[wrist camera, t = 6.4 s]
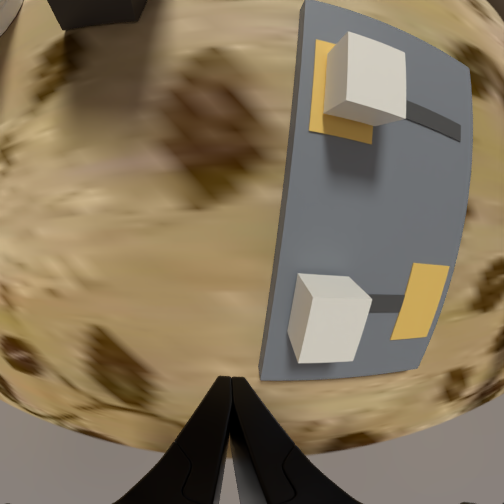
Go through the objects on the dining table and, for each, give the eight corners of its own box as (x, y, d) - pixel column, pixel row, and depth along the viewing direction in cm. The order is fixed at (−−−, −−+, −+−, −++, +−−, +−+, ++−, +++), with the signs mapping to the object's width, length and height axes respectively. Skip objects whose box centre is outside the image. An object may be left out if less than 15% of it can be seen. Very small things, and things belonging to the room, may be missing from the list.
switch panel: (457, 71, 13) (469, 67, 12) (409, 358, 20) (418, 369, 18) (300, 9, 12) (305, -3, 11) (258, 366, 18) (260, 381, 17)
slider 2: (348, 276, 15) (372, 298, 12) (335, 332, 16) (352, 361, 13) (297, 273, 15) (312, 297, 12) (287, 331, 16) (298, 363, 13)
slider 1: (377, 69, 12) (404, 52, 9) (375, 126, 13) (405, 118, 10) (327, 53, 11) (348, 31, 9) (323, 113, 12) (346, 100, 10)
